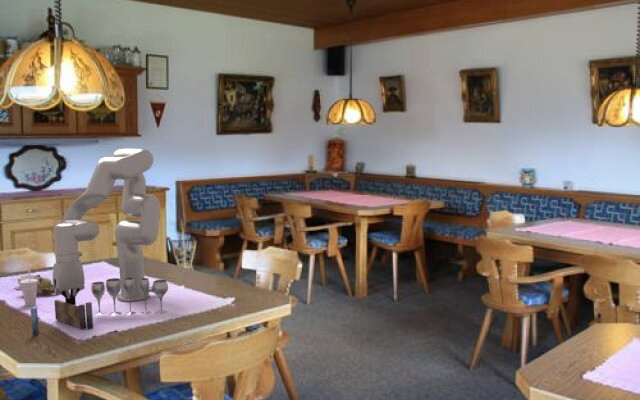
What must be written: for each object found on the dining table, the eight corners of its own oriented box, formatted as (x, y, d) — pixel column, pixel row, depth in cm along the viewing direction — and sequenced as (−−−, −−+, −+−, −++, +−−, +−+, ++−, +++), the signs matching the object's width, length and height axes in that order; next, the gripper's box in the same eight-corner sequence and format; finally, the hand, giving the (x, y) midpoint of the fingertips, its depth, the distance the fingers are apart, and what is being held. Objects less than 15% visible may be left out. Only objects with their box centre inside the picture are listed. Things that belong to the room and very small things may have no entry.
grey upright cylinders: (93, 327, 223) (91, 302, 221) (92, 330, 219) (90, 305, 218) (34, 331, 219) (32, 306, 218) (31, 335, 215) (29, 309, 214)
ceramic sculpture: (20, 272, 267) (59, 270, 273) (20, 293, 268) (59, 290, 274) (20, 278, 257) (60, 276, 263) (20, 299, 258) (60, 297, 264)
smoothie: (32, 307, 247) (29, 272, 245) (18, 306, 249) (15, 271, 247) (42, 302, 253) (40, 268, 252) (28, 302, 255) (25, 267, 253)
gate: (87, 327, 221) (85, 305, 220) (82, 329, 220) (80, 306, 219) (59, 318, 232) (58, 296, 231) (54, 319, 231) (53, 298, 230)
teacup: (24, 291, 271) (23, 281, 270) (10, 288, 276) (9, 278, 275) (45, 286, 279) (44, 275, 279) (31, 283, 284) (30, 273, 284)
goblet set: (90, 317, 234) (88, 281, 233) (95, 312, 240) (93, 277, 238) (167, 314, 235) (166, 279, 234) (170, 310, 241) (169, 275, 239)
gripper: (82, 253, 235) (85, 301, 238) (42, 260, 224) (45, 310, 227) (92, 255, 230) (95, 305, 233) (51, 263, 219) (55, 314, 222)
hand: (70, 307), depth 230 cm, fingers closed
